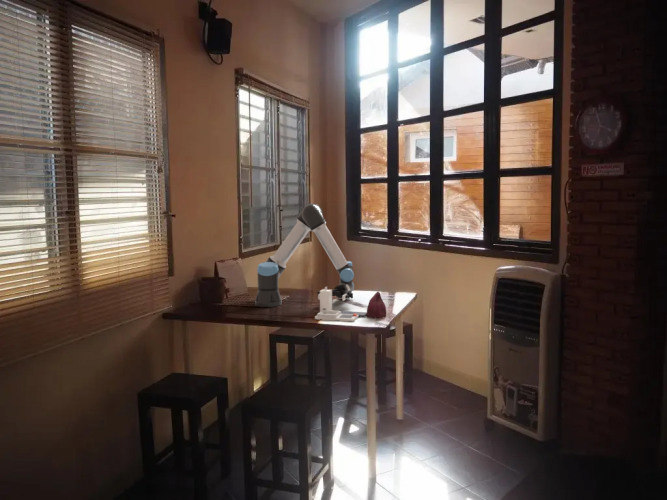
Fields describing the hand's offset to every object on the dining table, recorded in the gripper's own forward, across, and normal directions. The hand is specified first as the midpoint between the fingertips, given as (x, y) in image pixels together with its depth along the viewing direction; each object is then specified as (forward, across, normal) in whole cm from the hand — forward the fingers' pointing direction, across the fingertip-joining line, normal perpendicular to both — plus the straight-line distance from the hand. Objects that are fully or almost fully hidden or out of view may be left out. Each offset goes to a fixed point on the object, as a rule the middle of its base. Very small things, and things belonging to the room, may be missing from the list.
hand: (330, 297), depth 274 cm
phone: (+8, -14, -7) cm, 18 cm away
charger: (+7, +1, -7) cm, 10 cm away
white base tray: (+17, -8, -7) cm, 20 cm away
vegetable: (+7, -26, -7) cm, 28 cm away
